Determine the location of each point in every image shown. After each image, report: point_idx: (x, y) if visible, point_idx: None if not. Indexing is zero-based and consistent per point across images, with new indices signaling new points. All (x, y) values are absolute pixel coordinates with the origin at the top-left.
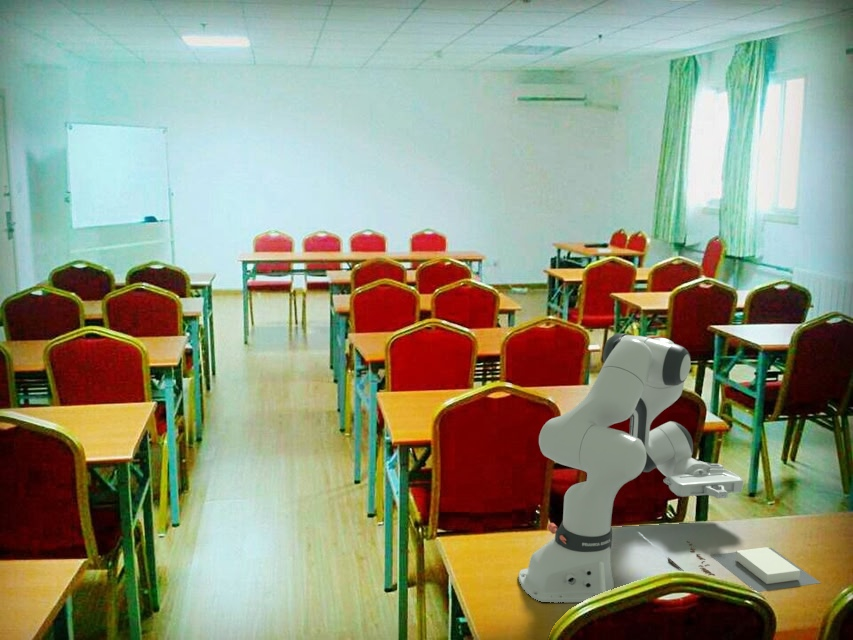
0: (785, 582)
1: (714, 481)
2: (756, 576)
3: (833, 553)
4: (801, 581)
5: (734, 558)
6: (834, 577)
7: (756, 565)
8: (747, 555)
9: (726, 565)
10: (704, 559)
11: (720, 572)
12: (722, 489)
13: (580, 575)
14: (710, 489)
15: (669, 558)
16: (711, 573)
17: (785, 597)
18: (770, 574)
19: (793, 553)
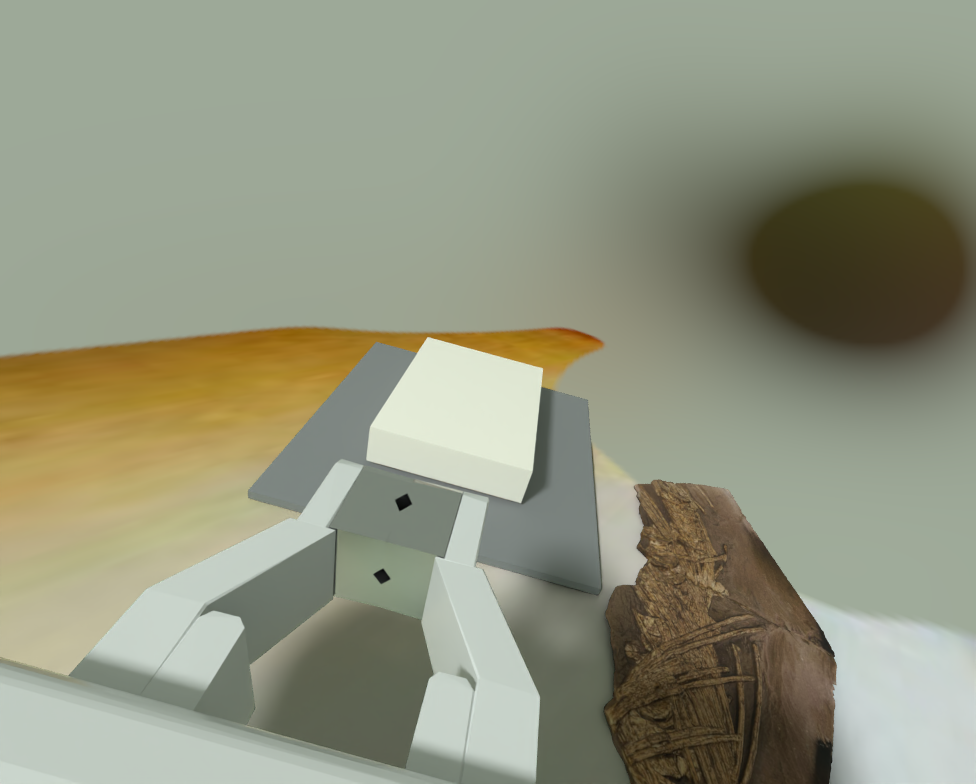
0: None
1: (157, 774)
2: None
3: (66, 371)
4: None
5: (508, 518)
6: (294, 340)
7: (536, 398)
8: (515, 435)
9: (582, 503)
10: (650, 576)
11: (622, 501)
12: (323, 525)
13: None
14: (504, 634)
15: (829, 669)
16: (671, 500)
17: None
18: (533, 366)
19: (204, 439)
